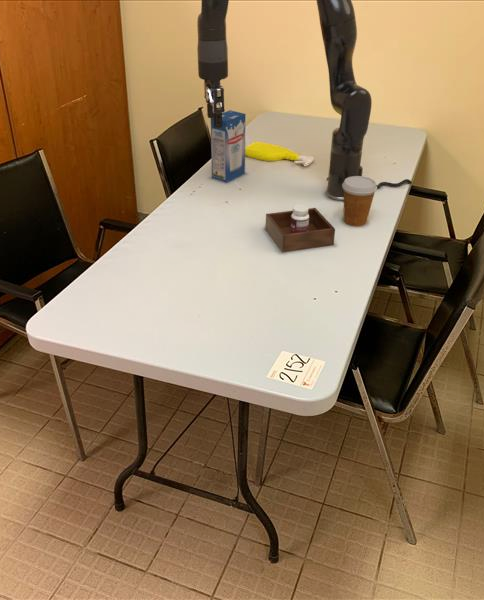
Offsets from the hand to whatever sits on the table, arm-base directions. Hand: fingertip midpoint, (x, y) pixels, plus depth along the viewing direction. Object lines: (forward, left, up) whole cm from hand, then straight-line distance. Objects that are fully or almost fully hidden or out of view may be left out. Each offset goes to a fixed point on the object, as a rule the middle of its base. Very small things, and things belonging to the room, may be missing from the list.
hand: (214, 122), depth 159 cm
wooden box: (-18, +19, -27) cm, 38 cm away
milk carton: (-11, -28, -27) cm, 41 cm away
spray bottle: (-33, -38, -27) cm, 58 cm away
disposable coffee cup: (-37, +15, -27) cm, 48 cm away
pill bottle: (-18, +19, -27) cm, 38 cm away
